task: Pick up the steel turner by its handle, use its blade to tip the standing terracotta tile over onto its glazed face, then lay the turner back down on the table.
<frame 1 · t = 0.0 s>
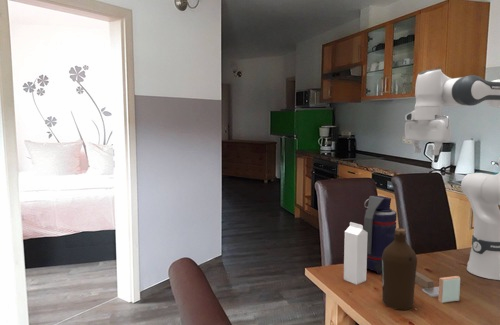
hand: (426, 153, 137), 48 cm above the table, tool pointing down, fingers open, 8 cm apart
tile: (448, 300, 126), on the table
milk: (354, 280, 143), on the table
olive oil: (397, 303, 125), on the table
turner: (426, 287, 137), on the table
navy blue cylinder: (377, 269, 153), on the table
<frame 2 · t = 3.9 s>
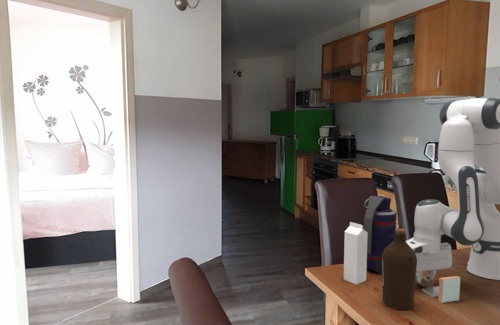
hand: (424, 281, 137), 2 cm above the table, tool pointing down, fingers closed on turner, 2 cm apart
turner: (426, 287, 137), on the table, touching gripper
everything else where it was.
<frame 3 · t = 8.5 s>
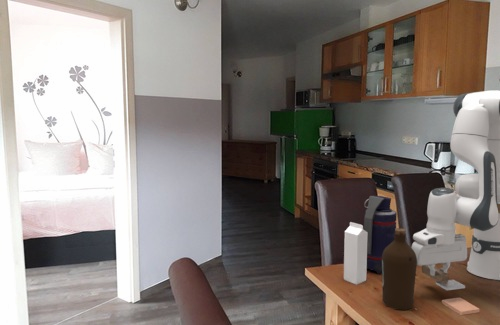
hand: (438, 274, 131), 7 cm above the table, tool pointing down, fingers closed on turner, 2 cm apart
tile: (450, 300, 125), on the table, tilted 90°
turner: (440, 280, 130), point 5 cm above the table, touching gripper
everything else where it was.
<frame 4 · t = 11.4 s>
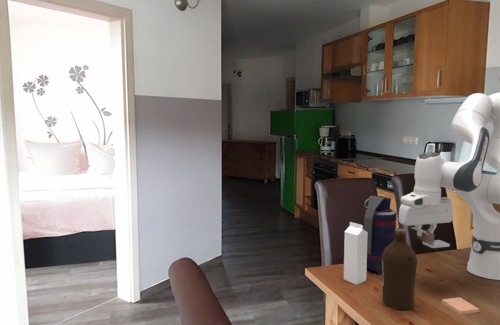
hand: (425, 235, 136), 19 cm above the table, tool pointing down, fingers closed on turner, 2 cm apart
turner: (427, 241, 136), point 17 cm above the table, touching gripper
everything else where it was.
when the fingers open (2 cm above the table, at t = 13.7 s): turner stays where it is, on the table.
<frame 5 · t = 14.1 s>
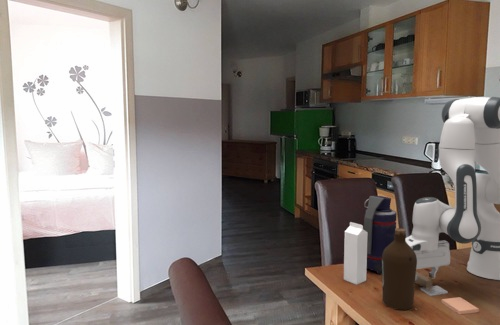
hand: (423, 278, 138), 2 cm above the table, tool pointing down, fingers open, 6 cm apart
turner: (425, 286, 137), on the table
everything else where it was.
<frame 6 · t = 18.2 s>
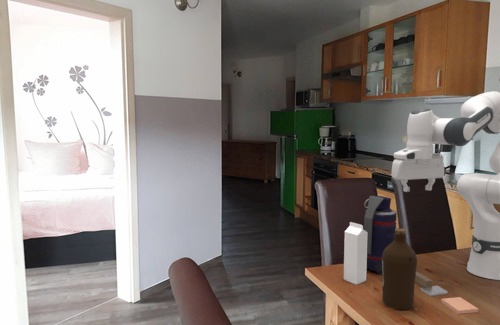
hand: (417, 190, 140), 34 cm above the table, tool pointing down, fingers open, 8 cm apart
nothing on the table moved.
at the end: tile tilted 90°; tile inside the target area (4.1 cm from its centre), on the table; turner inside the target area (0.2 cm from its centre), on the table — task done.
